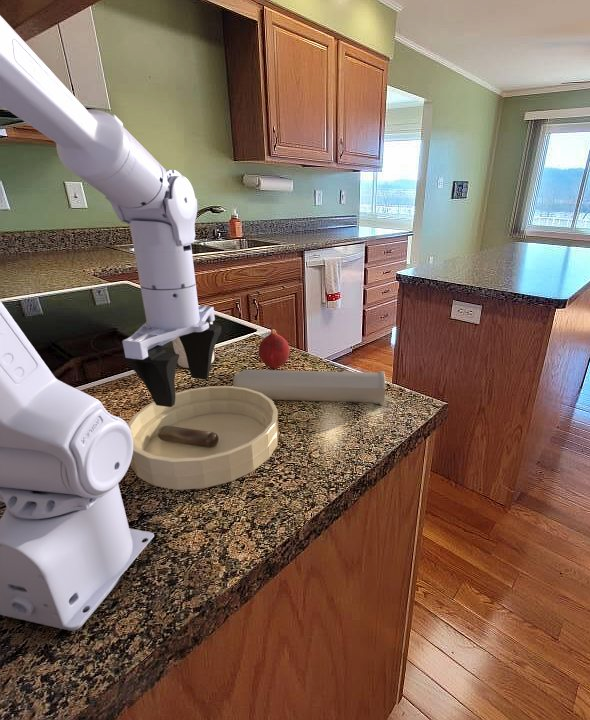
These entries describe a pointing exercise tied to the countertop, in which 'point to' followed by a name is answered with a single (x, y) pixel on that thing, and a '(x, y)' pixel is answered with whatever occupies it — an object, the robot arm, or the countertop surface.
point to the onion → (274, 350)
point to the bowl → (207, 413)
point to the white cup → (183, 352)
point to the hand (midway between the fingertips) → (184, 390)
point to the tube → (314, 385)
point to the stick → (188, 436)
